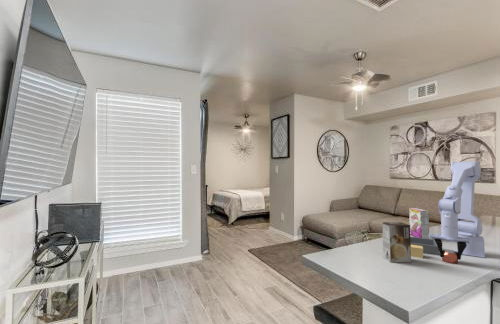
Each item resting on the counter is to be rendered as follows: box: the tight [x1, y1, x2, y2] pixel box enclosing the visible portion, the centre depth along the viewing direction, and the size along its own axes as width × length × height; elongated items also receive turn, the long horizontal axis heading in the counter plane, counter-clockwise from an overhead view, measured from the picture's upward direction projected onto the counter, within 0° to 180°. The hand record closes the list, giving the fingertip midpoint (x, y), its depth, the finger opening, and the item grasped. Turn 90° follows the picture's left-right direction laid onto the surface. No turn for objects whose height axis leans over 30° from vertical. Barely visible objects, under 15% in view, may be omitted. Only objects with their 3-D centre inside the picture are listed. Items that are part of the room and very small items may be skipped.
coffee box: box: [381, 221, 412, 263], centre depth 110 cm, size 9×6×16 cm
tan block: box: [411, 245, 424, 259], centre depth 115 cm, size 5×5×4 cm
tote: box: [410, 236, 440, 256], centre depth 125 cm, size 14×14×4 cm
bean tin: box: [441, 248, 459, 265], centre depth 108 cm, size 5×5×5 cm
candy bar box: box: [408, 207, 430, 239], centre depth 147 cm, size 11×5×16 cm, turn 179°
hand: (450, 257), depth 108 cm, fingers closed on bean tin, 5 cm apart
